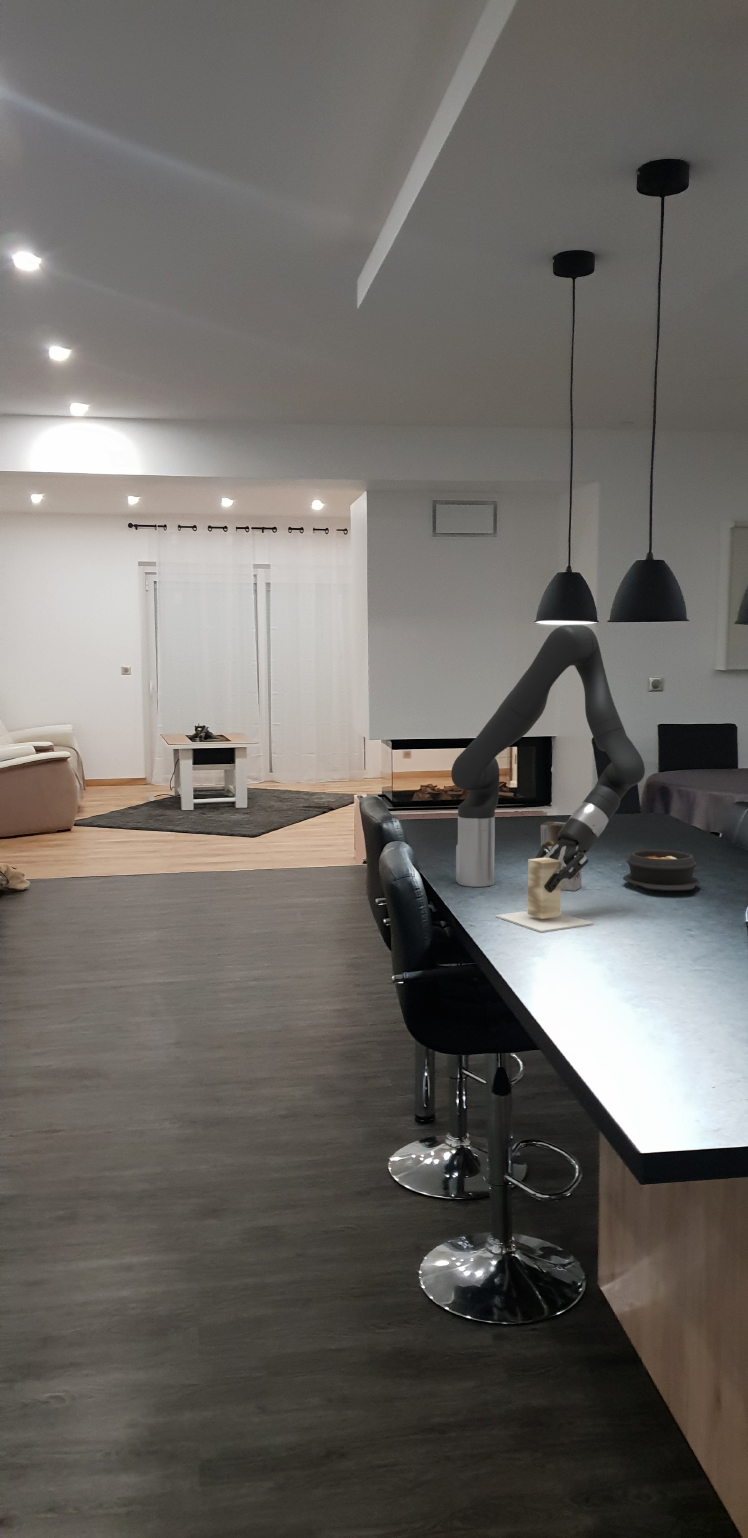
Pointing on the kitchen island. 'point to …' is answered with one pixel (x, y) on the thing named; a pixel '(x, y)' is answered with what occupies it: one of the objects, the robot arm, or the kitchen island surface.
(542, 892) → the birch block
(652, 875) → the casserole
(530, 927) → the felt mat
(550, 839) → the coffee box
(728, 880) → the kitchen island surface
